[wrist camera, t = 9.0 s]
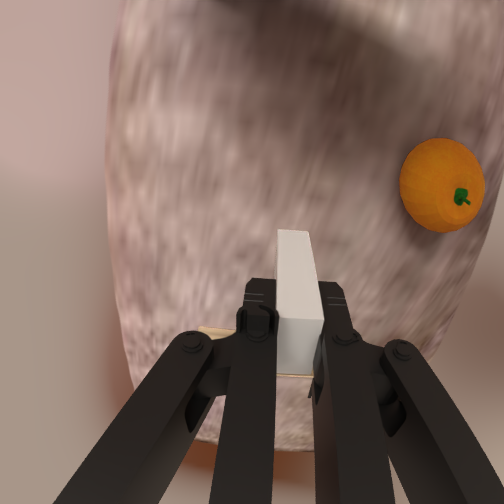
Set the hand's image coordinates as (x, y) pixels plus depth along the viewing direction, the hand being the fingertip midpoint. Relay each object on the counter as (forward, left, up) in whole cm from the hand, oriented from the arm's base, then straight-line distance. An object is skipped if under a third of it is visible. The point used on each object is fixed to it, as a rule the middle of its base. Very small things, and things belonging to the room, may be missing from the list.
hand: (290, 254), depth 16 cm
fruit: (-1, +20, -24) cm, 31 cm away
